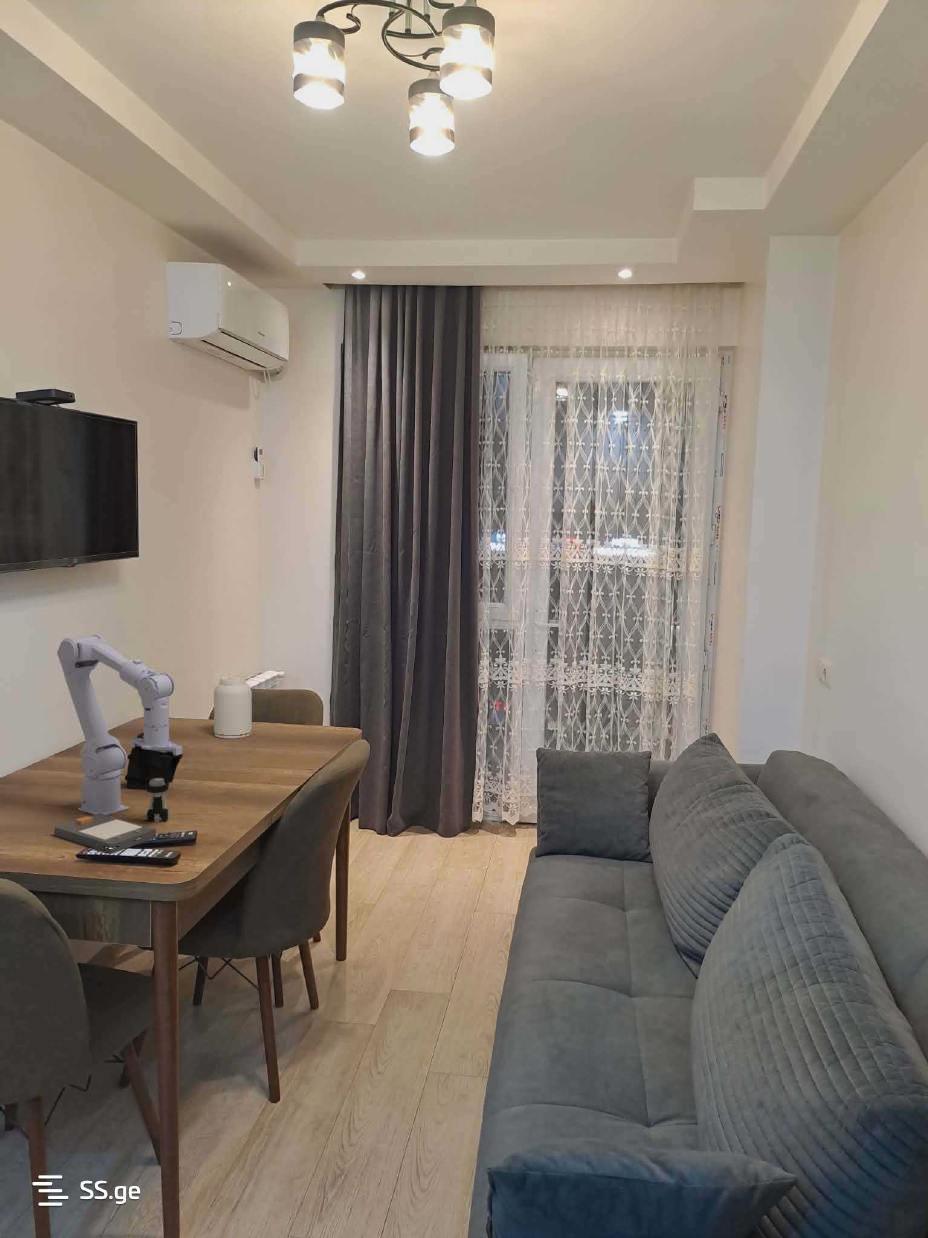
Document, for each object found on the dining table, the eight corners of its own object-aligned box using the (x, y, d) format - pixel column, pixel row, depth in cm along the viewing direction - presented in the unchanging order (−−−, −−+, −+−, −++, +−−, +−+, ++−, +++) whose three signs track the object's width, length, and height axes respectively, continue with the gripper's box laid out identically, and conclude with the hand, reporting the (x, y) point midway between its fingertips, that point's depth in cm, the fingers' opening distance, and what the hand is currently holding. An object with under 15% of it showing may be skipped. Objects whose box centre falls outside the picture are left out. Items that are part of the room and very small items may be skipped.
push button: (138, 824, 212) (138, 784, 211) (142, 817, 217) (141, 777, 216) (167, 823, 213) (167, 783, 212) (170, 816, 218) (170, 776, 217)
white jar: (215, 731, 309) (215, 674, 307) (252, 730, 311) (252, 674, 309) (212, 739, 297) (212, 680, 295) (250, 739, 299) (250, 680, 297)
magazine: (120, 778, 244) (142, 731, 242) (162, 801, 243) (184, 754, 241) (113, 782, 240) (136, 734, 238) (156, 805, 239) (178, 757, 237)
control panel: (54, 835, 203) (54, 823, 203) (100, 821, 213) (99, 810, 213) (111, 853, 193) (110, 841, 193) (155, 838, 203) (155, 826, 203)
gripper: (121, 724, 211) (121, 779, 213) (166, 732, 205) (167, 789, 207) (143, 718, 218) (144, 772, 219) (188, 726, 211) (188, 781, 213)
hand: (156, 780), depth 213 cm, fingers open, 7 cm apart
